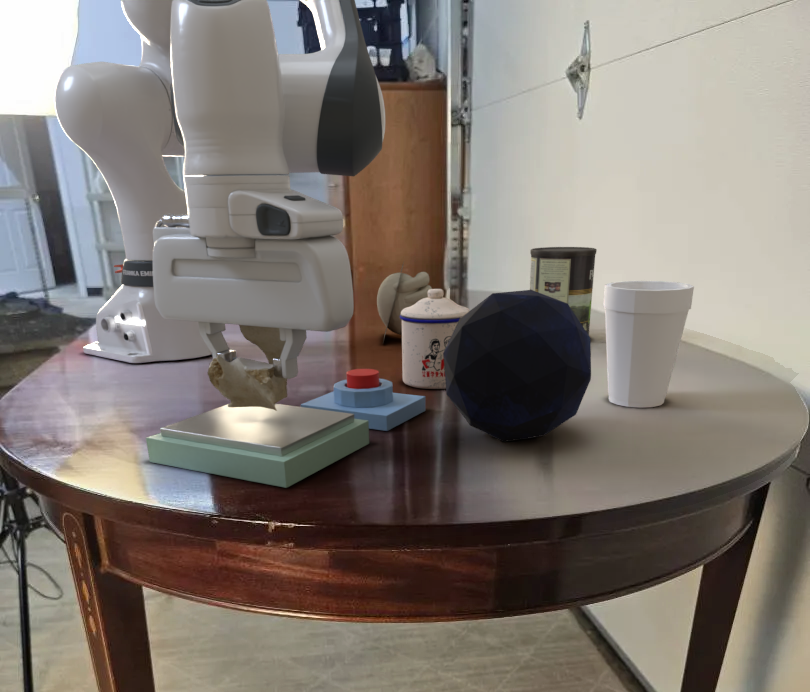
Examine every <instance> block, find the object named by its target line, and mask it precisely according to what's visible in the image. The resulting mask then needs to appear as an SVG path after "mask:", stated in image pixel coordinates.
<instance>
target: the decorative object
mask: <svg viewBox="0 0 810 692" xmlns="http://www.w3.org/2000/svg"><path fill="white" fill-rule="evenodd" d="M404 262H405V261H403V262H402V266H401V269H400V272H396V273H392V274H389V275H387V277H385V278H384V280H383V281H382V282H381V283H380V285H379V288H378V291H377V296H376V305H377V307H376V308H377V312H378V316H379V317H380V319H381V322H382V323H383V324H384V326H385V332H384V337H383V342H382V343H384V341H385V338H386V334H387V329H388V330H389V331H390V332H392V333H394V334H396V335H400V336H401V337H402V319H400V315H401V311H402V310H403V309H404V308H407V307H410V306H412V305H414V304H416V303H417V302H418V301H419V300H421V299H424V298H428V290H430V289H433V288H432V286H431V285H430V284H429V283H430V276H429V273H428V272H426V271H421V272H418V273H417V274H416V275H414V277H412V276H411V275H409V274H407V273H404V272H403V268H404Z"/></svg>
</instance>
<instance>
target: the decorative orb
mask: <svg viewBox="0 0 810 692" xmlns="http://www.w3.org/2000/svg"><path fill="white" fill-rule="evenodd" d="M469 310H470V311H469V312H468V313H466V314H465V315H464V316H463V317H461V318H460V319H459V321H458V323H457V325H456V327H455V329H454V331H453V334H452V336H451V338H450V340H449V342H448V344H447V346H446V348H445V350H444V353H443V358H444V370H445V382H446V389H445V391H446V395H447V397H448V398H449V400H450V401H451V402H452V403H453V405H454V406H455V407H456V409H457V411H458V412H459V413H460V414H461V416H462V417H463V418H464V420H465V421H466V422H467V424H468V425H469V426H470V427H472V428H474V429H476V430H479V431H481V432H483V433H484V434H487V435H489V436H491V437H493V438H495V439H497V440H500V441H501V442H504V443H505V442H511V441H518V440H525V439H531V438H532V439H533V438H537V437H538V438H539V437H544V436H545V435H547V434H549V433H550V432H551V431H553V430H554V429H556V428H558V427H559V426H561V425H563V424H564V423H565V422H567V421H568V420H570V419H572V418H573V417H575V416H577V413H578V411H579V408H580V407H581V404H582V401H583V400H584V396H585V395H586V392H587V389H588V387H589V385H590V382H591V380H592V379H591V378H592V356H591V355H592V351H591V350H592V347H591V345H592V343H591V336H590V334H589V335H588V334H587V332H586V331H585V329H584V327H583V326H582V324H581V323H580V321H579V320H578V318H577V317H576V315H575V314H574V312H573V311H572V309H571V308H570V306H569V305H568V303H565V302H562V301H560V300H557V299H554V298H552V297H549V296H546V295H544V294H541V293H538V292H536V291H533V290H530V289H526V290H525V289H524V290H514V291H504V292H493V293H491V294H490V295H489V296H487V297H486V298H484V299H483V300H482V301H481V302H479V303H478V304H477V305H475V306H474V307H473V308H471V309H469Z"/></svg>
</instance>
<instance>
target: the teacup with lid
mask: <svg viewBox="0 0 810 692" xmlns="http://www.w3.org/2000/svg"><path fill="white" fill-rule="evenodd" d="M444 294H445V292H444V290H443V289H442V288H432V289H430V290H428V298H424V299H421V300H419V301H418V302H417V303H416V304H414V305H412V306H410V307H407V308H404V309H403V310H402V311H401V315H400V319H402V336H401V359H402V361H401V363H402V364H401V365H402V367H401V369H402V371H401V372H402V382H403V383H404V384H405V385H407V386H409V387H412V388H416V389H424V390H446V382H445V370H444V358H443V353H444V350H445V348H446V346H447V344H448V342H449V340H450V338H451V336H452V334H453V331H454V329H455V327H456V325H457V323H458V321H459V319H460V318H461V317H463V316H464V315H465V314H466V313H468V312H469V311H470V310H471V309H469V308H468V307H466V306H464V305H460V304H457V303H456V302H455V301H453V300H452V299H451V298H448V297H444Z"/></svg>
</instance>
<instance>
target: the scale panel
mask: <svg viewBox="0 0 810 692" xmlns="http://www.w3.org/2000/svg"><path fill="white" fill-rule="evenodd" d="M393 390H394V389H393V382H392V381H391V380H388V379H385V378H379V387H376V388H369V389H353V388H348V387H347V379H341V380H340V381H338V382H335V383H334V384H333V391H331V392H328V393H326V394H323V395H320V396H318V397H316V398H313V399H311V400H308V401H306V402H303V403H301V404H300V407H305V408H313V409H320V410H328V411H335V412H343V413H351V414H354V419H361V420H368V422H369V430H377V431H384V432H388V431H391V430H392V429H394V428H396V427H398V426H400V425H402V424H403V423H405V422H407V421H409V420H412V418H415V417H416V416H419V415H420V414H422V413H424V412H426V396H425V395H416V394H410V393H409V394H408V393H407V394H406V393H399V392H393Z"/></svg>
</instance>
